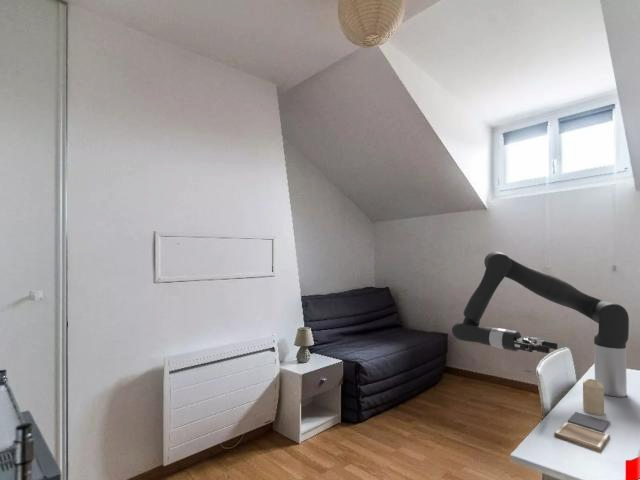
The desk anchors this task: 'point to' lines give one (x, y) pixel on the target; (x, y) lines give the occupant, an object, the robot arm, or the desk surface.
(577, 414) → the pad
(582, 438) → the board
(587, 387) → the candle
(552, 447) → the desk surface
